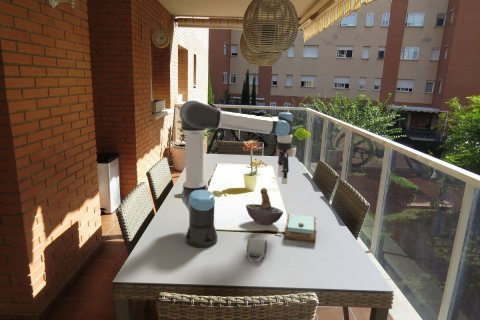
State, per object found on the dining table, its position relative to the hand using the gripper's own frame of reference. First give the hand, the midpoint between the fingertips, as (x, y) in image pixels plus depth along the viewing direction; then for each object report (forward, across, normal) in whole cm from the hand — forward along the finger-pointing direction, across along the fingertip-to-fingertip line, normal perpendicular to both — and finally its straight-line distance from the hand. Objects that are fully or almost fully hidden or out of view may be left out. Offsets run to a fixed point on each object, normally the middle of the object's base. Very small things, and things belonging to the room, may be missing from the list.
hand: (282, 180), depth 189 cm
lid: (+18, -19, -7) cm, 27 cm away
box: (+23, -18, -8) cm, 30 cm away
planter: (+23, -6, +10) cm, 25 cm away
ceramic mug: (+23, -43, +17) cm, 51 cm away
